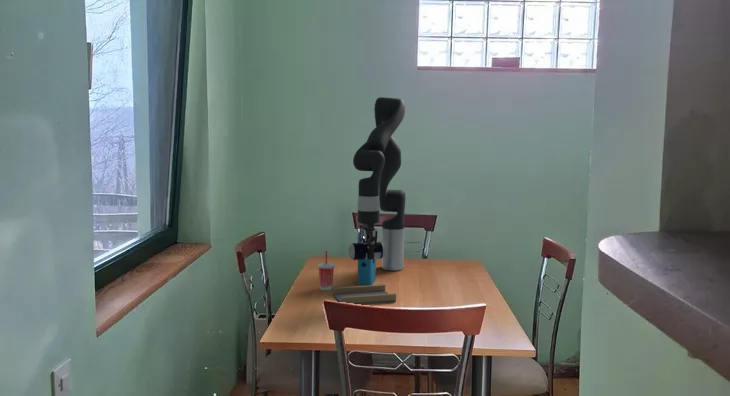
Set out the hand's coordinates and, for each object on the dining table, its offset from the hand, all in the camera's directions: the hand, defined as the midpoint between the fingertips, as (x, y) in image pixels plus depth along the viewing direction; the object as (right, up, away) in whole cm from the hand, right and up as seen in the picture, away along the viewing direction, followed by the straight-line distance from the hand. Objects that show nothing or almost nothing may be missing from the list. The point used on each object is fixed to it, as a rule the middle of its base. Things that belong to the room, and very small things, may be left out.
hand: (367, 257), depth 210 cm
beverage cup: (-15, -13, +14) cm, 24 cm away
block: (0, -12, +23) cm, 26 cm away
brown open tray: (-1, -14, +1) cm, 14 cm away
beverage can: (-6, +2, -2) cm, 7 cm away
